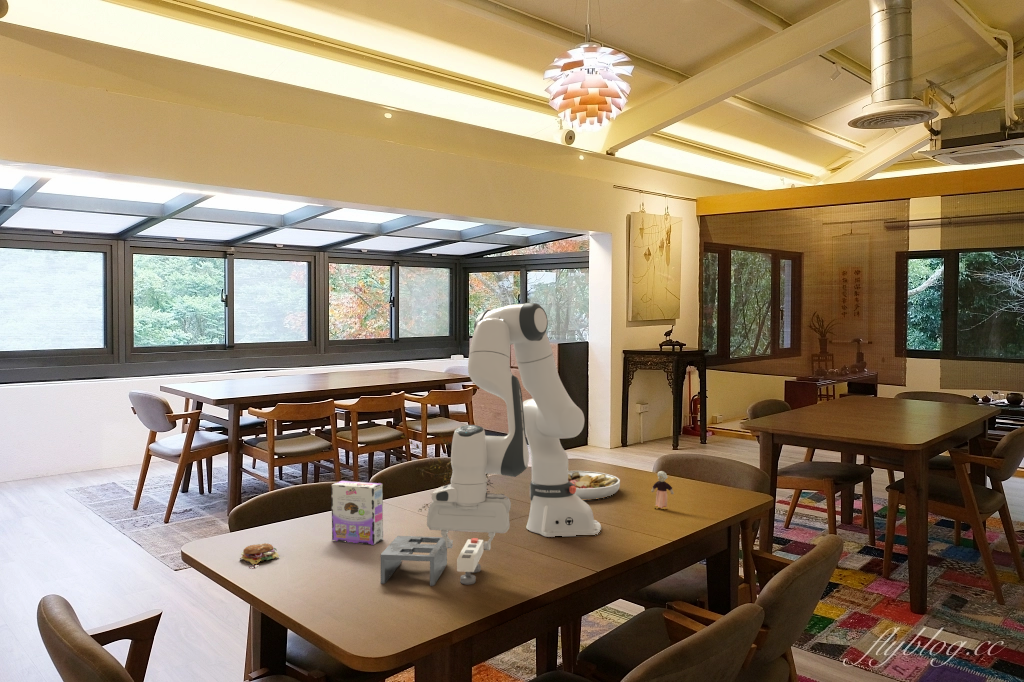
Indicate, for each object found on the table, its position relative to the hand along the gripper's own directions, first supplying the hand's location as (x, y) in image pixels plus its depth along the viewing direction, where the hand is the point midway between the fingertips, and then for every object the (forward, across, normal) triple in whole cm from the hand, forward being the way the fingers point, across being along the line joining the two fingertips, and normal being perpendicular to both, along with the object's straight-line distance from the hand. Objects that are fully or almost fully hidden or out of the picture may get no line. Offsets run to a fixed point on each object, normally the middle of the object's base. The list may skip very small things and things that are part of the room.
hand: (468, 548), depth 174 cm
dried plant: (+7, +13, -54) cm, 56 cm away
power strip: (+7, -1, 0) cm, 7 cm away
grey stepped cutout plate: (+7, +13, 0) cm, 15 cm away
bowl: (+6, -25, -90) cm, 94 cm away
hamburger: (+8, +56, -4) cm, 57 cm away
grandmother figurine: (+6, -53, -69) cm, 87 cm away
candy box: (+7, +37, -24) cm, 45 cm away
